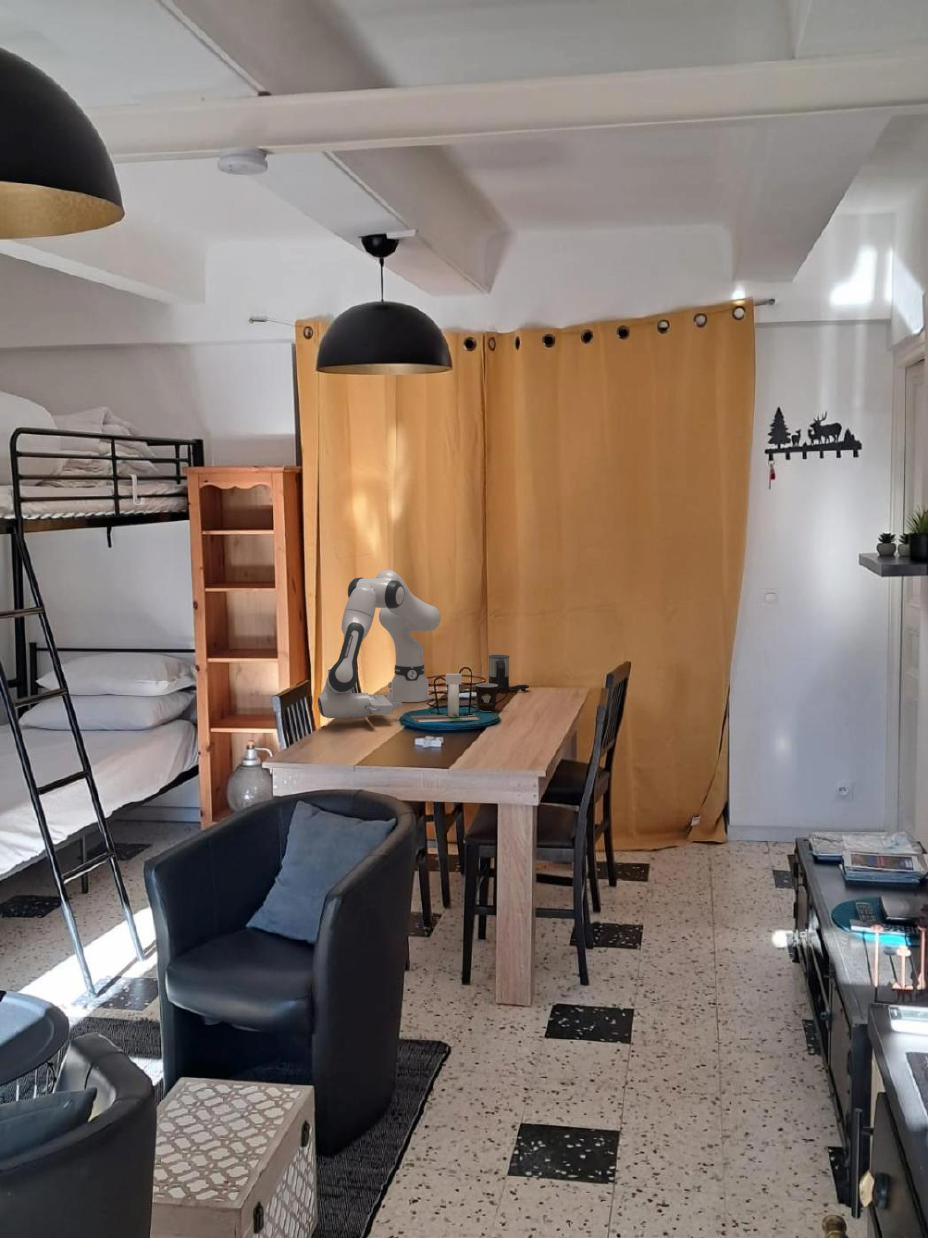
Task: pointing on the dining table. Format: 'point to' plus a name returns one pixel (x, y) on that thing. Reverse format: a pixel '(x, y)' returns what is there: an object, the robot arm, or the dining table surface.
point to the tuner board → (443, 718)
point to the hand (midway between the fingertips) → (401, 704)
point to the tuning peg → (453, 693)
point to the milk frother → (501, 673)
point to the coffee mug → (487, 696)
